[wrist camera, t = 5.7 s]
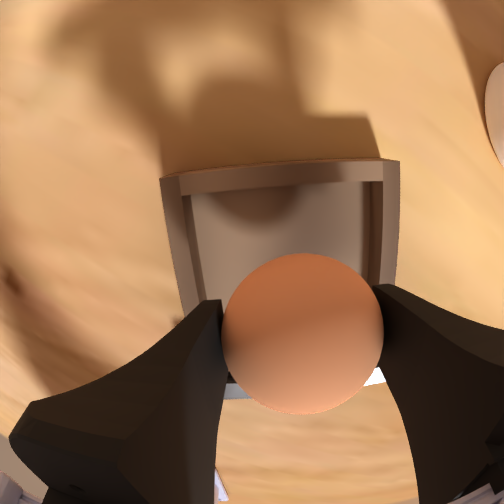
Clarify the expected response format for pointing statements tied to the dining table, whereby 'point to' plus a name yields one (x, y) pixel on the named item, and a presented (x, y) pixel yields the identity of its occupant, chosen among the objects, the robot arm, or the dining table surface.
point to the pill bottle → (496, 110)
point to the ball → (302, 333)
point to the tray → (280, 220)
